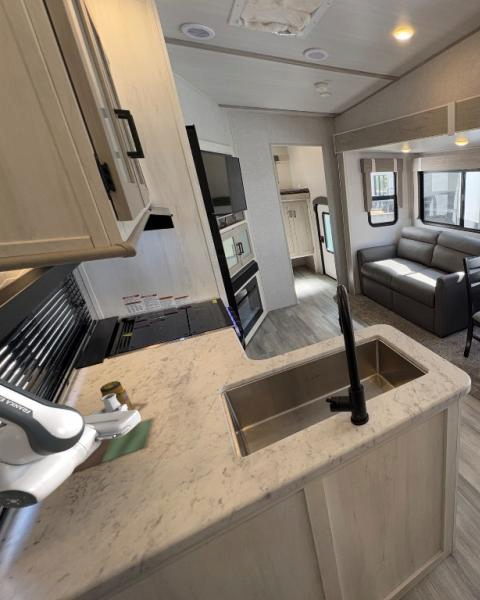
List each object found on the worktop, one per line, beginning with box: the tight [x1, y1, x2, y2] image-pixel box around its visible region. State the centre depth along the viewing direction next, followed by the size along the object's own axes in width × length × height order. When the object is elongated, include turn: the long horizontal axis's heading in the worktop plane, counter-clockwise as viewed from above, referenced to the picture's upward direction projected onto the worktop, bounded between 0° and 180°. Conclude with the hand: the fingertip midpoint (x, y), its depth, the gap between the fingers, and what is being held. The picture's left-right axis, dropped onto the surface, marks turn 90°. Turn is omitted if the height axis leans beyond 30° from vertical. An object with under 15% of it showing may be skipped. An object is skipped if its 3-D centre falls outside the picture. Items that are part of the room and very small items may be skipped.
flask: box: [100, 393, 128, 413], centre depth 92 cm, size 7×7×10 cm
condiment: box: [99, 380, 134, 410], centre depth 106 cm, size 7×8×12 cm
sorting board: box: [72, 419, 152, 474], centre depth 94 cm, size 20×14×1 cm
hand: (116, 407), depth 92 cm, fingers closed on flask, 3 cm apart
